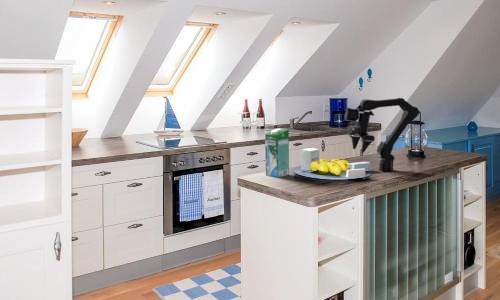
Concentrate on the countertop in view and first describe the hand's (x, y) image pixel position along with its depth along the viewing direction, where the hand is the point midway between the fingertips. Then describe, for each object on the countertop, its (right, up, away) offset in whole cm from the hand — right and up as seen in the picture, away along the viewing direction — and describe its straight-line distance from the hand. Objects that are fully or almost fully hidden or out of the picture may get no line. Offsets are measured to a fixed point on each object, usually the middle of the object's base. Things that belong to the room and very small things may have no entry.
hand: (358, 150), depth 263 cm
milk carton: (-44, -13, -1) cm, 46 cm away
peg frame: (-7, -13, -8) cm, 17 cm away
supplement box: (-26, -12, +6) cm, 29 cm away
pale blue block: (+2, -12, +3) cm, 12 cm away
